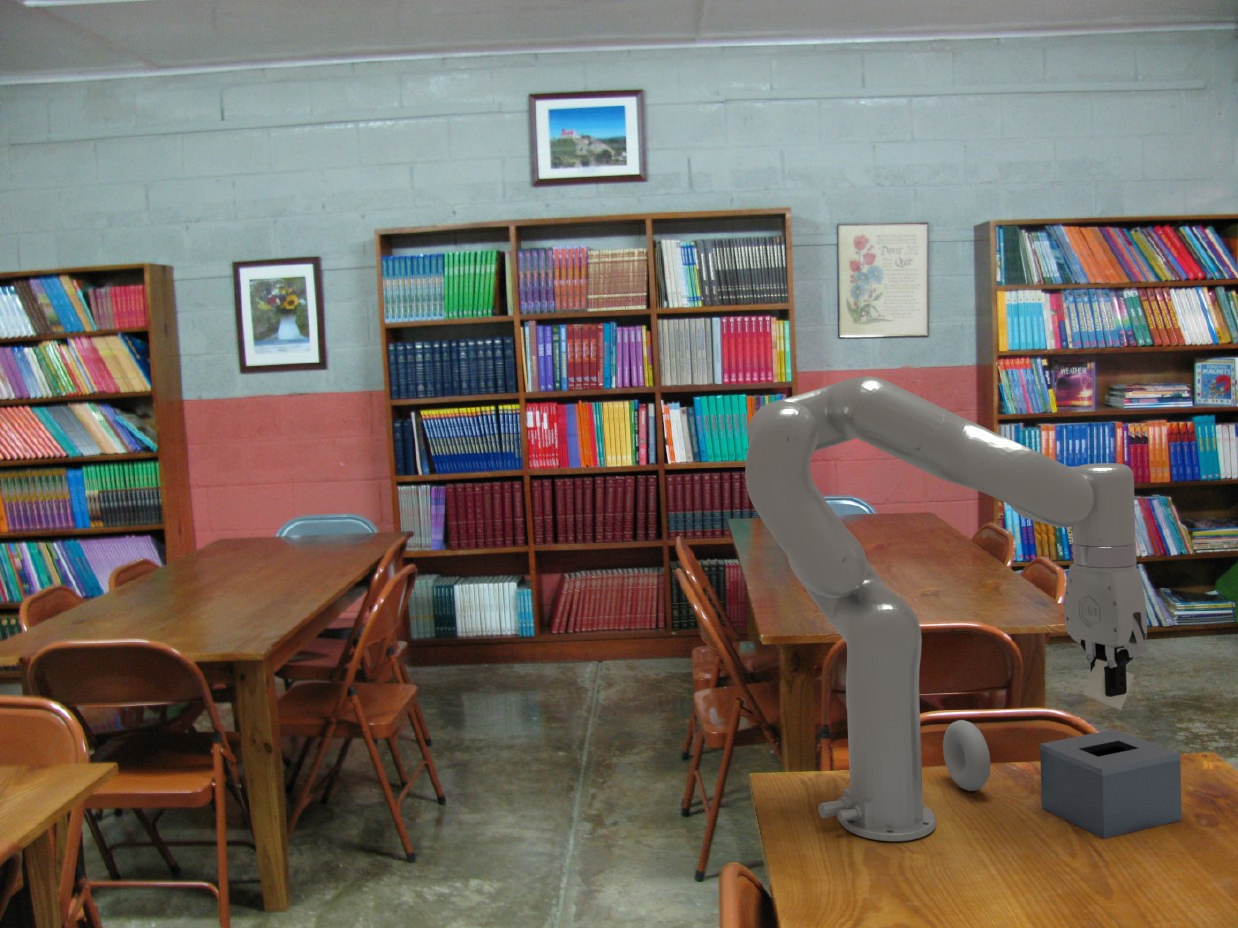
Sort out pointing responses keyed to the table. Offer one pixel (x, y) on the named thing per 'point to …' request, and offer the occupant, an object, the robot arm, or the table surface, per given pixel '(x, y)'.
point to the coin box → (1111, 782)
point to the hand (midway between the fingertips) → (1108, 691)
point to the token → (1097, 686)
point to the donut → (966, 755)
